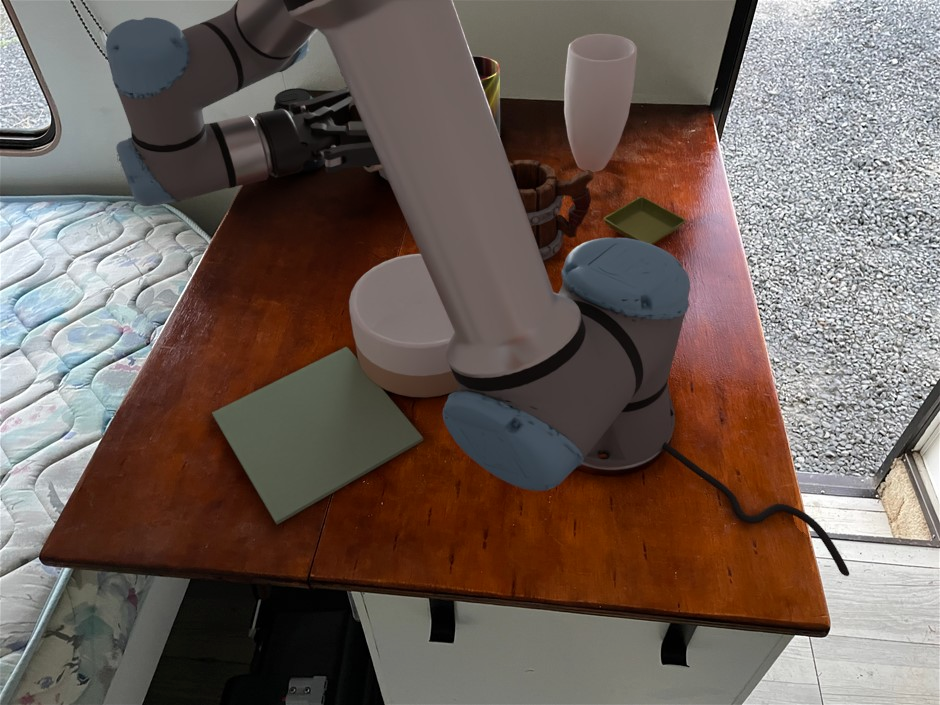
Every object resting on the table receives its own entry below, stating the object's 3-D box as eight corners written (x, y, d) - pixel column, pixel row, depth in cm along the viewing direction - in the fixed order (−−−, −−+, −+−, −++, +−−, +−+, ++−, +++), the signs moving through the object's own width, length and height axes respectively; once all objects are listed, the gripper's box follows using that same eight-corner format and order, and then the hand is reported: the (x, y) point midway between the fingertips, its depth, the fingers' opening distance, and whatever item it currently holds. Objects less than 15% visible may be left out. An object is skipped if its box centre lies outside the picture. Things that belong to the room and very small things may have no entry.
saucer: (645, 256, 101) (647, 245, 99) (600, 229, 106) (602, 218, 104) (685, 232, 105) (687, 220, 103) (639, 206, 109) (641, 195, 108)
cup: (626, 197, 111) (645, 62, 96) (559, 199, 112) (568, 64, 96) (617, 162, 118) (635, 30, 103) (555, 163, 119) (562, 32, 103)
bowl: (517, 330, 92) (520, 280, 86) (447, 419, 81) (444, 368, 75) (407, 287, 98) (402, 237, 92) (328, 364, 87) (318, 314, 81)
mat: (423, 440, 80) (423, 437, 79) (276, 525, 73) (275, 522, 72) (347, 349, 90) (346, 346, 90) (212, 415, 83) (211, 412, 83)
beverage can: (332, 168, 120) (319, 101, 112) (291, 177, 119) (275, 110, 110) (322, 148, 125) (309, 82, 116) (283, 157, 123) (266, 91, 115)
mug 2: (482, 217, 108) (498, 129, 97) (573, 236, 108) (600, 150, 97) (471, 266, 100) (487, 176, 89) (570, 286, 100) (598, 198, 89)
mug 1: (422, 124, 130) (416, 59, 121) (497, 119, 130) (496, 53, 121) (423, 151, 123) (417, 85, 114) (503, 146, 123) (502, 79, 115)
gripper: (242, 133, 93) (398, 100, 101) (296, 222, 80) (470, 176, 88) (230, 78, 88) (396, 48, 96) (286, 164, 75) (473, 121, 83)
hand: (432, 109), depth 92 cm, fingers closed on tumbler, 9 cm apart
